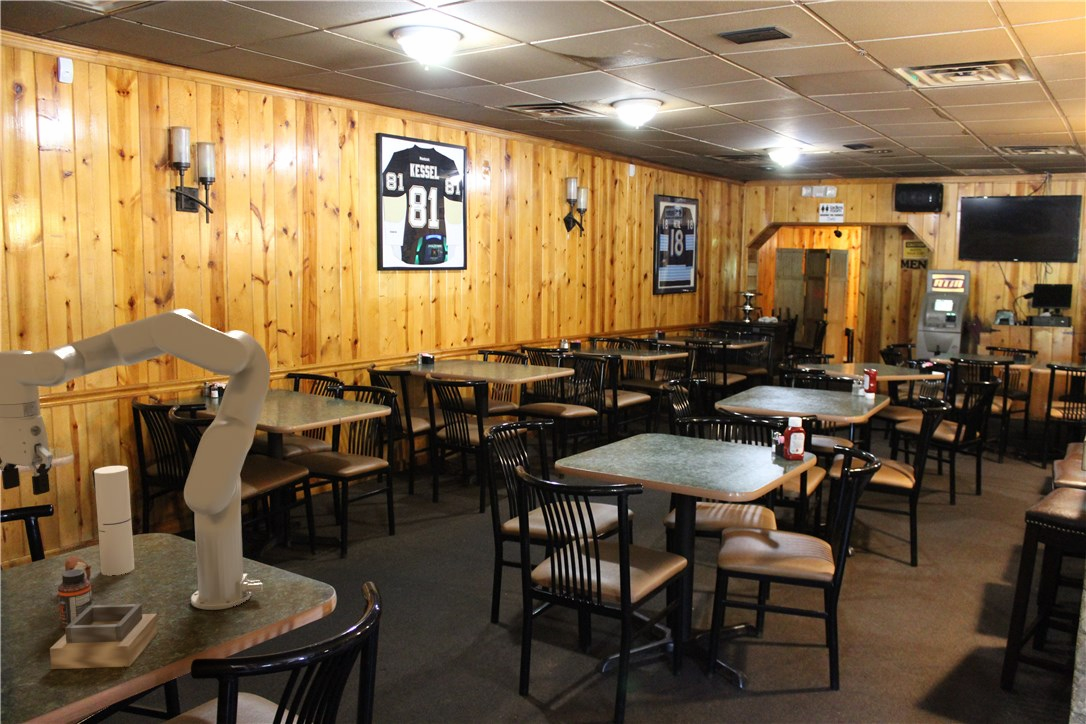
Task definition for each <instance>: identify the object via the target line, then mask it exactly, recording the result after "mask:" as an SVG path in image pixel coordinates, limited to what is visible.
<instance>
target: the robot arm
mask: <svg viewBox="0 0 1086 724" xmlns="http://www.w3.org/2000/svg"><path fill="white" fill-rule="evenodd" d="M167 354H168V355H171V356H173V357H175V358H177V359H180V360H181V361H184V362H186V363H189V364H191V365H192V366H193V365H194V366H196V367H199V368H201V369H203V370H206V371H208V372H210V373H213V374H215V375H220V376H225V377H227V376H228V379H227V380H228V381H227V384H226V387H225V388H224V389H225V390H224V391H223V392H224V393H223V396H222V400H221V402H220V405H219V408H218V411H217V413H216V415H215V418H214V420H213V421H212V422H211V424H210V425H208V427H207V428H206V429H205V431H204V432H203V434H202V436H201V438H200V441H199V443H198V446H197V449H196V452H195V455H194V458H193V461H192V464H191V466H190V470H189V473H188V475H187V478H186V482H185V485H184V488H183V497H184V501H185V504H186V505H187V507H188V509H190V510H191V511H192V512H193V513H194V532H195V533H194V536H195V538H194V540H195V553H196V554H195V555H196V575H197V590H196V591H195V592H194V593H193V594H192V595H191V596H190V602H191V603H190V604H191V605H192V606H193V607H195V608H197V609H200V610H208V611H210V610H211V611H213V610H214V611H215V610H225V609H229V608H230V609H231V608H233V606H234V607H237V606H239V605H241V603H242V604H244V603H245V602H247V601H249V599H250V598H251V597H250V596H252V595H253V593H262V592H263V591H264V583H263V582H261V580H260V579H254V580H250V579H249V578H248V573H244V559H243V556H244V555H243V537H242V535H243V533H242V513H241V512H242V501H241V500H242V497H241V496H242V478H241V471H242V469H243V466H244V464H245V460H246V457H247V455H248V453H249V451H250V449H251V447H252V445H253V443H254V437H255V432H256V428H257V426H258V422H259V420H260V417H261V414H262V411H263V406H264V404H265V400H266V398H267V394H268V390H269V387H270V381H271V365H270V362H269V358H268V356H267V353H266V351H265V349H264V348H263V346H262V345H261V344H260V342H259V341H257V339H256V338H254V336H252V335H251V334H249V333H247V332H245V331H242V330H236V329H235V330H234V329H233V330H229V331H226V332H222V331H220V330H217V329H216V328H213V327H211V326H208V325H206V324H204V323H202V321H201V319H200V318H199V317H198V315H197V314H196V313H195V312H193V311H192V310H190V309H187V308H175V309H174V308H173V309H172V310H167V311H165V312H161V313H158V314H154V315H151V316H148V317H144V318H142V319H138V320H134V321H131V322H128V323H124V324H121V325H117V326H115V327H112V328H110V329H109V330H107V331H105V332H102V333H100V334H96V335H93V336H90V337H87V338H84V339H81V340H77V341H73V342H71V343H67V344H62V345H59V346H55V347H52V348H50V349H49V348H48V349H46V350H41V351H35V352H33V351H31V350H27V349H12V350H4V351H0V471H1V477H2V478H1V479H2V488H3V490H9V489H14V488H17V487H20V485H21V483H20V482H21V481H20V471H19V468H18V467H17V466H22V467H29V469H30V471H31V473H32V474H33V475H32V476H31V483H32V485H31V486H32V494H33V495H34V496H39V495H42V494H46V493H49V492H50V490H51V489H50V477H49V474H50V473H51V468H52V462H53V459H54V456H53V454H52V453H51V452H50V446H49V438H48V434H47V429H46V423H45V421H44V418H43V416H42V415H41V414H42V413H41V404H40V403H41V402H40V401H41V400H40V393H39V390H40V389H39V387H42V388H46V387H47V388H54V387H55V388H56V387H59V386H62V385H64V384H65V383H68V382H69V381H72V380H75V379H78V378H80V377H84V376H86V375H90V374H93V373H97V372H100V371H103V370H106V369H109V368H110V369H111V368H113V367H114V368H115V367H118V366H119V367H120V366H124V367H128V366H133V365H136V364H139V363H143V362H145V361H148V360H152V359H154V358H159V357H162V356H165V355H167ZM37 466H38V467H37ZM251 594H252V595H251ZM246 600H247V601H246ZM243 602H244V603H243ZM236 605H237V606H236Z"/></svg>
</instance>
